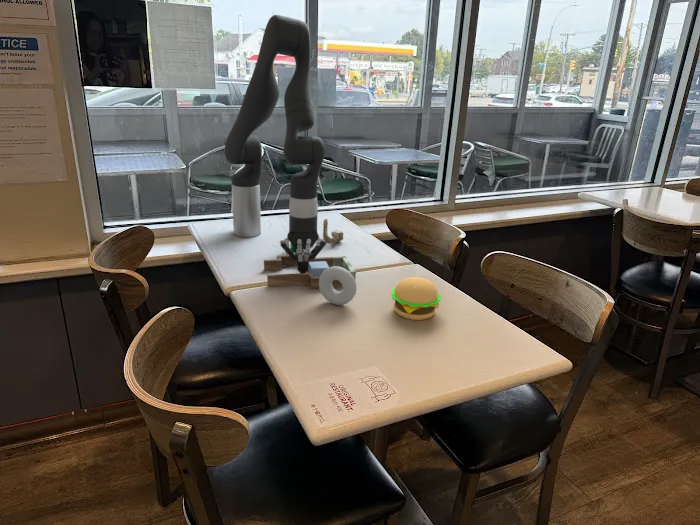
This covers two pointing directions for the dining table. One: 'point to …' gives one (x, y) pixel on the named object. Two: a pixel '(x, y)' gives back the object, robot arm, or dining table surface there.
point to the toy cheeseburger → (415, 298)
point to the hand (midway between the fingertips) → (302, 272)
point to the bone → (335, 234)
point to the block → (317, 268)
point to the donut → (345, 280)
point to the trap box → (302, 277)
